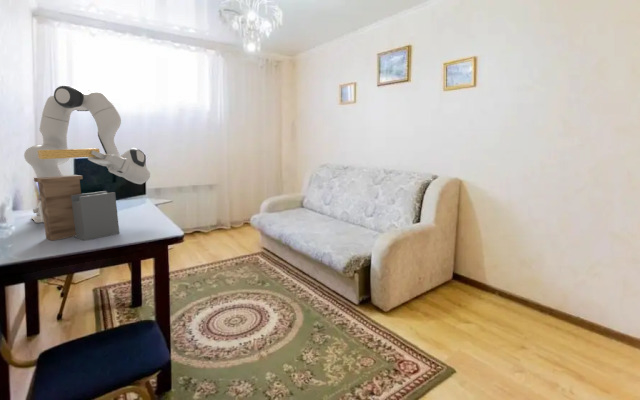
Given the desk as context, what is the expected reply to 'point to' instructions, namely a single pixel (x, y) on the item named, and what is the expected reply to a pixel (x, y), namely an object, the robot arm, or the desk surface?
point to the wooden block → (65, 153)
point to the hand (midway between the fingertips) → (88, 151)
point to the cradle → (95, 215)
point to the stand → (58, 204)
